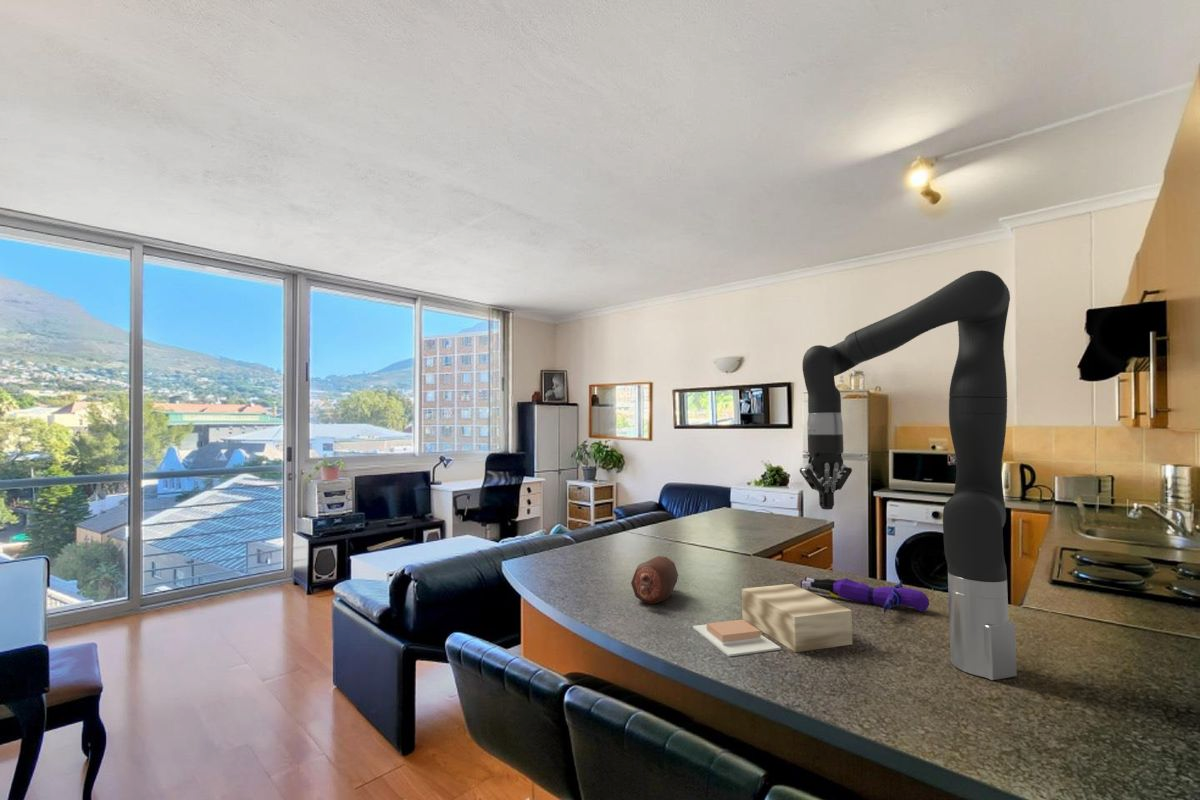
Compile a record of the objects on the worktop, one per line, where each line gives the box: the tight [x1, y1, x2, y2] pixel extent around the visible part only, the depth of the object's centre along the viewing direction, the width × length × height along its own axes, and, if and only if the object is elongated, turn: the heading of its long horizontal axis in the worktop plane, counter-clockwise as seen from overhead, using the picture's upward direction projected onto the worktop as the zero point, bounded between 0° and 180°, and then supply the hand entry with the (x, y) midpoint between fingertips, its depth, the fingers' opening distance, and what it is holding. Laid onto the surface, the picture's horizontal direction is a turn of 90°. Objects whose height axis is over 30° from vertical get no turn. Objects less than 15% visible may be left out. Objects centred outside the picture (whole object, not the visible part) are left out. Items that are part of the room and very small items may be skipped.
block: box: [741, 583, 853, 653], centre depth 119 cm, size 20×14×7 cm
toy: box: [800, 576, 930, 614], centre depth 139 cm, size 27×6×30 cm
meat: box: [630, 555, 679, 605], centre depth 142 cm, size 20×12×10 cm, turn 156°
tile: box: [706, 619, 762, 645], centre depth 115 cm, size 7×9×2 cm
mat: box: [692, 623, 782, 657], centre depth 115 cm, size 16×12×1 cm
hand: (826, 509), depth 121 cm, fingers closed
